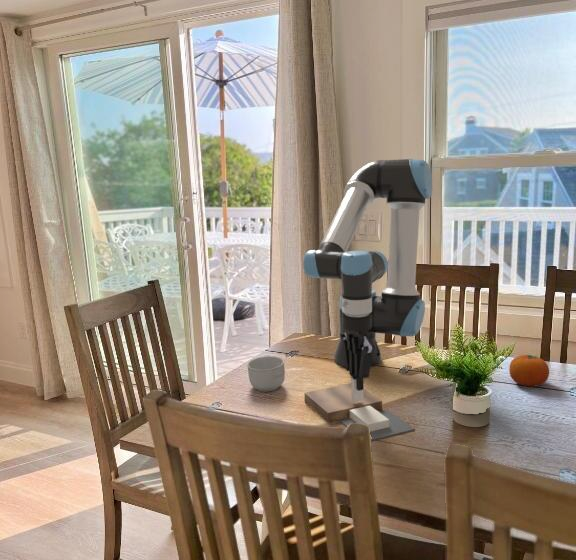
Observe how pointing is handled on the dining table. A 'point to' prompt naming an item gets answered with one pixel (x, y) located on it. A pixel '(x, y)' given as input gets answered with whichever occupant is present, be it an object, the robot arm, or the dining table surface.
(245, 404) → the dining table surface
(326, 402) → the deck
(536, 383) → the fruit
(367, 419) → the white rectangular block
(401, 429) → the mat
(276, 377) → the teacup
